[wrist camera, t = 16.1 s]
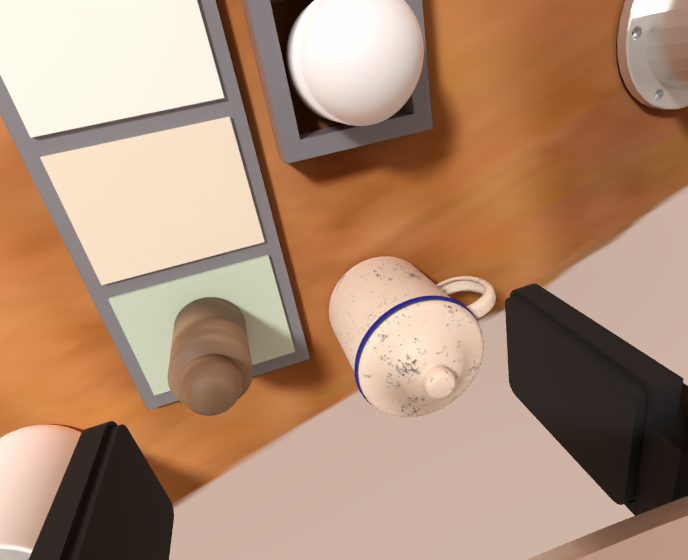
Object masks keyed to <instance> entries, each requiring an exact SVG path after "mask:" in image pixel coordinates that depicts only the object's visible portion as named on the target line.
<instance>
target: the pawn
mask: <svg viewBox="0 0 688 560" xmlns="http://www.w3.org/2000/svg"><path fill="white" fill-rule="evenodd" d="M252 377H253V367H252V361H251V355H250V349H249V343H248V337H247V331H246V325H245V320H244V317H243V314H242V313H241V311H240V310H239V308H238V307H237V306H235V305H234V304H233V303H231V302H229V301H227V300H225V299H222V298H217V297H205V298H200V299H197V300H194V301H192V302H190V303H189V304H187V305H186V306H185V307H183V308H182V310H181V311H180V312H179V313H178V315H177V317H176V319H175V323H174V329H173V337H172V345H171V353H170V360H169V368H168V385H169V388H170V390H171V392H172V394H173V395H174V396H175V397H176V398H177V399H178V400H179V401H181V402H182V403H184V404H185V405H186V406H187V407H188V408H189V409H190V410H192V411H193V412H195V413H197V414H200V415H205V416H212V415H217V414H221V413H223V412H225V411H227V410H228V409H229V408H231V407H232V406H233V405H234V404H235V402H236V401H237V400H238V399H239V398H240V397H241V396H242V395H243V394H244V393H245V392H246V391H247V389H248V388H249V386H250V384H251V381H252Z"/></svg>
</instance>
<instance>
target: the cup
mask: <svg viewBox="0 0 688 560" xmlns="http://www.w3.org/2000/svg"><path fill="white" fill-rule="evenodd" d="M80 435H81V432H79V431H77V430H75V429H72V428H69V427H65V426H60V425H49V424H44V425H33V426H28V427H24V428H21V429H18V430H15V431H13V432H10V433H8V434H6V435H5V436H3V437H1V438H0V560H29V558H30V555H31V553H32V550H33V548H34V546H35V543H36V541H37V538H38V536H39V534H40V531H41V529H42V526H43V524H44V521H45V519H46V517H47V515H48V512H49V510H50V507H51V505H52V503H53V500H54V498H55V495H56V493H57V490H58V488H59V486H60V483H61V481H62V478H63V476H64V474H65V471H66V469H67V466H68V464H69V462H70V459H71V457H72V454H73V452H74V449H75V447H76V445H77V442H78V440H79V437H80Z"/></svg>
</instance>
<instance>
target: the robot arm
mask: <svg viewBox="0 0 688 560" xmlns="http://www.w3.org/2000/svg"><path fill="white" fill-rule="evenodd" d="M617 50H618V62H619V68H620V73H621V75H622V78H623V81H624V83H625V86H626V87H627V89H628V90H629V91H630V93H631V94H632V96H633V97H634V98H636V99H637V100H638V101H639V102H640V103H642V104H644V105H646V106H648V107H651V108H657V109H680V108H684V107H688V0H626V1H625V3H624V7H623V11H622V15H621V19H620V22H619V31H618V39H617ZM505 311H506V328H507V329H506V331H507V349H508V369H509V383H510V387H511V389H512V391H513V393H514V394H515V395H516V397H517V398H518V399H519V400H520V401H521V402H522V403H523V404H524V405H525V406H526V407H527V408H528V410H529V411H530V412H531V413H532V414H533V415H534V416H535V417H536V418H537V419H538V420H539V421H540V422H541V424H542V425H543V426H544V427H545V428H546V429H547V430H548V431H549V432H550V433H551V434H552V435H553V437H554V438H555V439H556V440H557V441H558V442H559V443H560V444H561V445H562V446H563V447H564V448H565V449H566V450H567V452H568V453H569V454H570V455H571V456H572V457H573V458H574V459H575V460H576V461H577V462H578V463H579V464H580V466H581V467H582V468H583V469H584V470H585V471H586V472H587V473H588V474H589V475H590V476H591V477H592V478H593V480H595V482H596V483H597V484H598V485H599V486H600V487H601V488H602V489H603V490H604V491H605V492H606V494H607V495H608V496H609V497H610V498H611V499H612V500H613V501H614V502H616V503H617V504H620V505H622V504H625V505H626V506H627V508H628V509H629V510H630V511H631V512H632V513H633V514H634V515H635V516H634V517H631V518H629V519H626V520H623V521H621V522H618V523H616V524H613V525H611V526H608V527H606V528H603V529H601V530H598V531H596V532H593V533H591V534H588V535H586V536H583V537H581V538H579V539H576V540H574V541H571V542H569V543H566V544H564V545H561V546H559V547H556V548H554V549H552V550H549V551H547V552H544V553H542V554H540V555H537V556H534V557H532V558H529V559H527V560H688V386H687V385H685V384H684V383H683V378H682V377H680V376H679V375H677V374H675V373H674V372H672V371H671V370H669V369H668V368H666V367H664V366H663V365H661V364H660V363H658V362H657V361H655V360H654V359H652V358H651V357H649V356H648V355H646V354H644V353H643V352H641V351H640V350H638V349H637V348H635V347H634V346H632V345H630V344H629V343H627V342H626V341H624V340H623V339H621V338H620V337H618V336H617V335H615V334H613V333H612V332H610V331H608V330H607V329H606V328H604V327H603V326H601V325H599V324H598V323H596V322H595V321H593V320H592V319H590V318H589V317H587V316H586V315H584V314H582V313H581V312H579V311H578V310H576V309H575V308H573V307H571V306H570V305H568V304H567V303H565V302H564V301H562V300H561V299H559V298H558V297H556V296H555V295H553V294H551V293H550V292H548V291H547V290H545V289H544V288H542V287H541V286H539V285H537V284H531V285H527V286H524V287H521V288H518V289H515V290H513V291H512V292H511V293H510V297H509V298H507V299H506V301H505ZM173 520H174V513H173V506H172V503H171V501H170V499H169V497H168V496H167V494H166V492H165V491H164V489H163V487H162V486H161V484H160V482H159V481H158V479H157V477H156V476H155V474H154V472H153V471H152V469H151V467H150V465H149V464H148V462H147V460H146V459H145V457H144V455H143V454H142V452H141V450H140V449H139V447H138V445H137V444H136V442H135V440H134V439H133V437H132V435H131V434H130V432H129V430H128V429H127V427H126V426H125V425H119V426H118V425H117V424H116V423H115V422H113V421H110V422H107V423H104V424H100V425H97V426H94V427H91V428H88V429H85V430H84V431H83V432H82V433H81V435H80V437H79V440H78V442H77V445H76V447H75V449H74V452H73V454H72V457H71V459H70V462H69V464H68V466H67V469H66V471H65V474H64V476H63V478H62V481H61V483H60V486H59V488H58V490H57V493H56V495H55V498H54V500H53V503H52V505H51V507H50V510H49V512H48V515H47V517H46V519H45V521H44V524H43V526H42V529H41V531H40V534H39V536H38V538H37V541H36V543H35V546H34V548H33V550H32V553H31V555H30V558H29V560H169V554H170V545H171V537H172V529H173Z"/></svg>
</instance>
